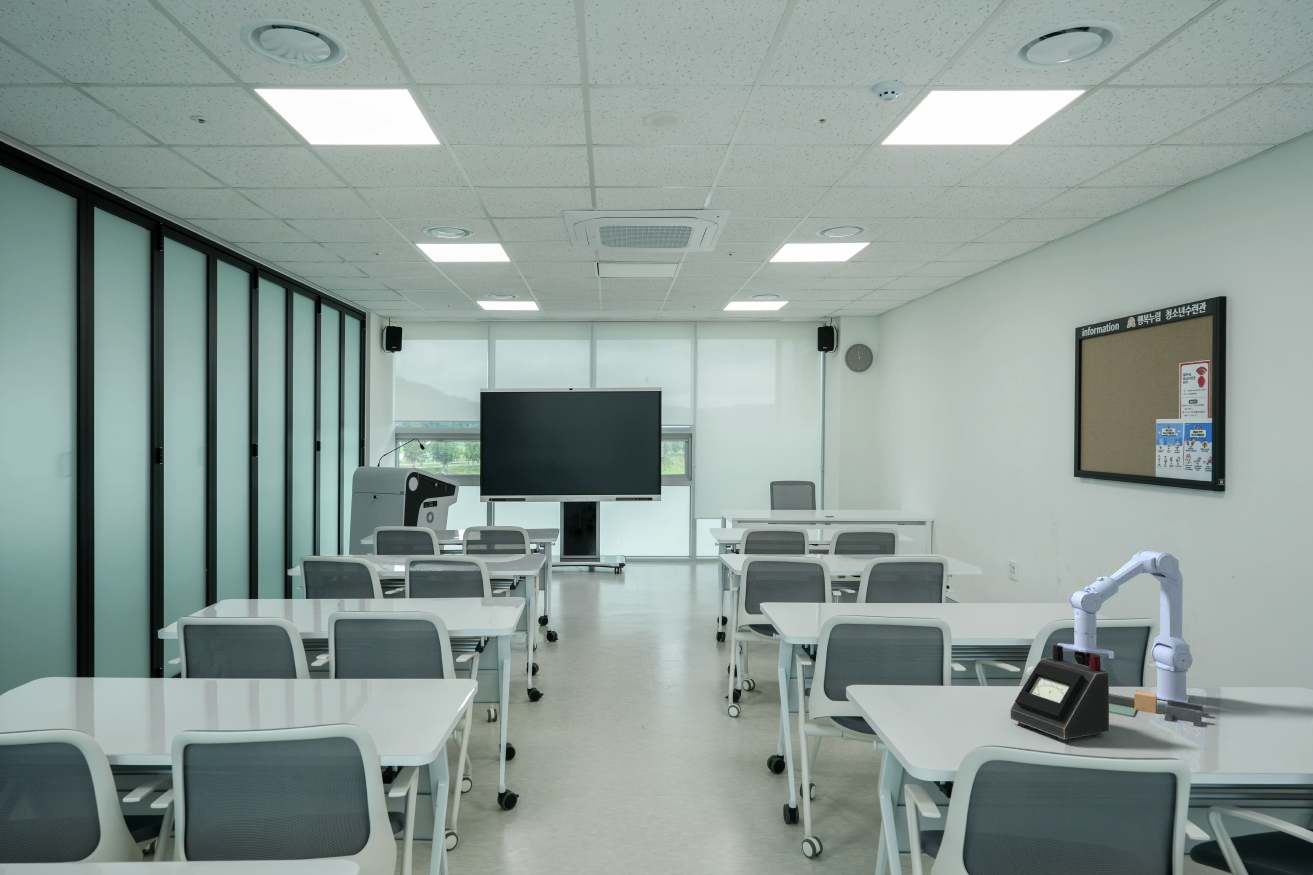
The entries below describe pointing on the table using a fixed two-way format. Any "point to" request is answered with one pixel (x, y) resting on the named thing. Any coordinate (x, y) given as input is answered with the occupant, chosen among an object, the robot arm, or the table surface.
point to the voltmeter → (1064, 698)
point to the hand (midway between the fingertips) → (1085, 678)
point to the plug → (1136, 701)
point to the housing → (1184, 712)
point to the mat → (1122, 710)
